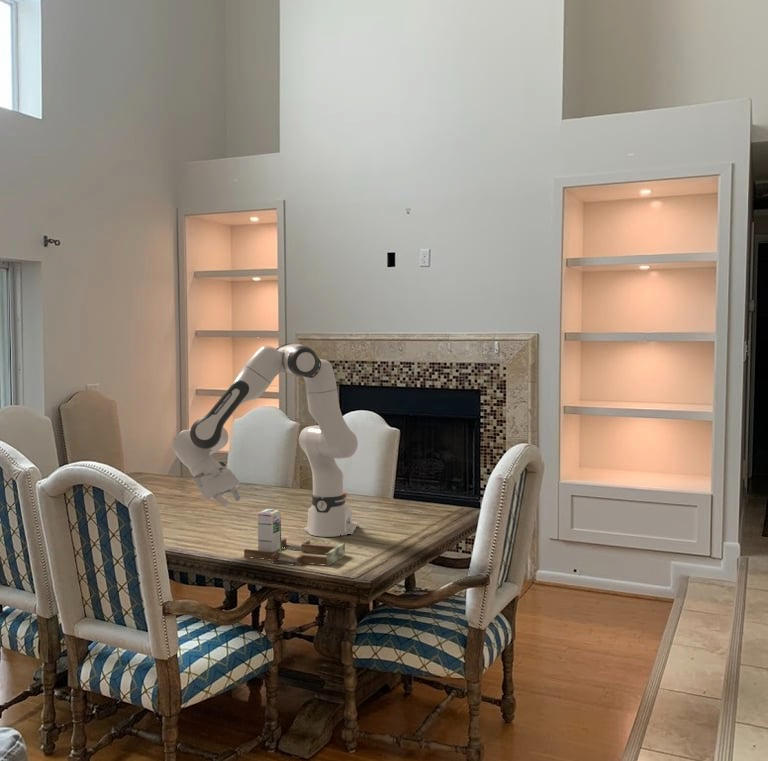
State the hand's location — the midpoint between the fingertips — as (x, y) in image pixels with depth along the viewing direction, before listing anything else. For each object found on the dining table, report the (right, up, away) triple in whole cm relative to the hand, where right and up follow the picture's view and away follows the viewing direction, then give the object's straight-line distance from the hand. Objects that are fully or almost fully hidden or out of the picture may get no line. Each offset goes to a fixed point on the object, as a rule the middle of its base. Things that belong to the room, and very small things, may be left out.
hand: (233, 502), depth 271 cm
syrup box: (+12, -17, -2) cm, 21 cm away
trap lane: (+21, -17, -4) cm, 28 cm away
